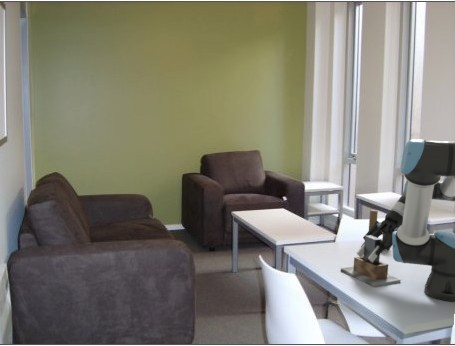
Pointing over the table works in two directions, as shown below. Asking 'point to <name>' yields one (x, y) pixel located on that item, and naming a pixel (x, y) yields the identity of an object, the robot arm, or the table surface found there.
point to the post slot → (370, 272)
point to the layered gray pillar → (371, 248)
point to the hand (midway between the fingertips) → (364, 257)
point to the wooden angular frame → (373, 219)
